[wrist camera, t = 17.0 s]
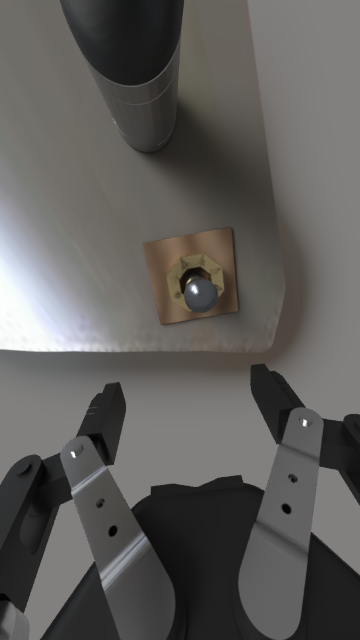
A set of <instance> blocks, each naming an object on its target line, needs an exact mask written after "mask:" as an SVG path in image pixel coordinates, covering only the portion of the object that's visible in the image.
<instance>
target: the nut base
mask: <svg viewBox="0 0 360 640" xmlns="http://www.w3.org/2000/svg"><path fill="white" fill-rule="evenodd" d="M143 247H144V251H145V256H146V260H147V265H148V269H149V274H150V278H151V283H152V287H153V292H154V296H155V301H156V305H157V310H158V314H159V319H160V323H161V325H163V324H168V323H174V322H180V321H185V320H191V319H196V318H202V317H208V316H213V315H219V314H224V313H230V312H236V311H238V303H237V291H236V279H235V266H234V254H233V242H232V230H231V227H228V228H223V229H217V230H212V231H207V232H201V233H196V234H191V235H185V236H180V237H174V238H169V239H164V240H158V241H153V242H148V243H143ZM193 270H194V271H198V272H199V273H200V274H201V275H202V277H203V278H204V279H207V280H209V281H211V282H212V283H213V284H214V285H215V287H216V288H217V291H218V301H217V303H216V305H215V306H214V307H213V308H212V309H211V310H209V311H207V312H204V313H197V312H194V311H192V310H190V309H189V308H188V306H187V305H186V303H185V299H184V291H185V289H186V288H185V284H184V276H185V275H186V273H188V272H189V271H193Z"/></svg>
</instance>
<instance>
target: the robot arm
mask: <svg viewBox="0 0 360 640" xmlns="http://www.w3.org/2000/svg"><path fill="white" fill-rule="evenodd" d="M60 2H61V6H62V9H63V12H64V15H65V18H66V20H67V23H68V25H69V28H70V30H71V32H72V34H73V36H74V38H75V40H76V42H77V44H78V46H79V48H80V50H81V52H82V55H83V57H84V59H85V61H86V63H87V65H88V67H89V69H90V71H91V73H92V75H93V77H94V79H95V81H96V83H97V85H98V88H99V90H100V92H101V94H102V96H103V98H104V100H105V102H106V104H107V106H108V108H109V110H110V113H111V115H112V117H113V119H114V121H115V123H116V125H117V127H118V129H119V131H120V133H121V135H122V137H123V138H124V140H125V141H126V142H127V143H128V144H129V145H130V146H131V147H133V148H134V149H136V150H139V151H141V152H154V151H157V150H159V149H161V148H162V147H163V146H165V145H166V143H167V142H168V141H169V140H170V138H171V136H172V134H173V131H174V128H175V122H176V109H177V93H178V76H179V59H180V41H181V25H182V15H183V7H184V0H60ZM250 385H251V391H252V395H253V397H254V399H255V401H256V403H257V405H258V407H259V409H260V411H261V413H262V415H263V418H264V420H265V422H266V423H267V426H268V428H269V430H270V432H271V434H272V436H273V438H274V440H275V442H276V444H279V446H278V449H277V453H276V456H275V459H274V463H273V466H272V470H271V473H270V476H269V480H268V483H267V487H266V490H265V491H264V490H262V489H260V488H258V487H256V486H254V485H250V484H247V483H243V480H242V477H241V475H236V476H229V477H221V478H217V479H215V480H213V481H210V482H208V483H206V484H203V485H201V486H199V487H190V486H185V485H178V484H166V485H159V486H152V487H151V495H149V496H147V497H145V498H144V499H142V500H141V501H139V502H138V503H137V504H136V505H135V506H134V507H133V508H132V509H130V508H129V506H128V504H127V502H126V500H125V499H124V497H123V495H122V493H121V491H120V490H119V488H118V486H117V484H116V482H115V481H114V479H113V477H112V475H111V473H110V471H109V470H108V468H107V466H108V465H114V461H115V457H116V452H117V448H118V444H119V439H120V435H121V430H122V425H123V421H124V417H125V413H126V402H125V399H124V395H123V392H122V388H121V385H120V383H119V382H116V383H109V384H106V385H105V388H104V390H103V393H99V394H97V395H96V396H95V398H94V399H93V400H92V401H91V403H90V406H89V409H88V410H87V413H86V415H85V417H84V420H83V422H82V424H81V426H80V429H79V431H78V434H77V436H76V438H74V439H72V440H70V441H69V442H68V443H67V444H66V445H65V446H64V447H63V449H62V451H61V453H58V454H56V455H54V456H51V457H49V458H46V459H44V460H42V459H41V458H40V456H38V455H29V456H27V457H24V458H22V459H21V460H19V461H18V462H17V463H15V464H14V465H13V466H12V468H11V469H10V470H9V471H8V473H7V475H6V476H5V478H4V480H3V481H2V483H1V485H0V640H28V637H29V622H28V619H27V617H26V616H25V615H24V611H25V608H26V605H27V602H28V599H29V596H30V592H31V590H32V587H33V584H34V580H35V578H36V575H37V572H38V569H39V566H40V563H41V560H42V557H43V554H44V551H45V548H46V545H47V542H48V539H49V536H50V533H51V530H52V527H53V524H54V520H55V518H56V515H57V512H58V509H59V506H60V505H61V504H63V503H65V502H67V501H69V500H71V499H73V500H74V503H75V506H76V508H77V511H78V514H79V517H80V520H81V523H82V525H83V529H84V532H85V534H86V537H87V540H88V543H89V545H90V548H91V551H92V554H93V557H94V560H95V561H94V562H93V564H92V565H91V567H90V568H89V570H88V571H87V573H86V574H85V575H84V577H83V578H82V580H81V581H80V583H79V584H78V585H77V587H76V588H75V590H74V591H73V593H72V594H71V596H70V597H69V598H68V600H67V601H66V603H65V604H64V606H63V607H62V609H61V610H60V612H59V613H58V614H57V616H56V617H55V619H54V620H53V622H52V623H51V625H50V626H49V628H48V629H47V630H46V632H45V633H44V635H43V636H42V638H41V639H40V640H360V575H359V574H358V573H357V572H355V571H354V570H353V569H352V568H351V567H350V566H349V565H348V564H347V563H346V562H344V561H343V560H342V559H341V558H340V557H339V556H338V555H337V554H335V553H334V552H333V551H332V550H331V549H330V548H329V547H328V546H327V545H325V544H324V543H323V542H322V541H321V540H320V539H319V538H318V537H317V536H316V535H314V534H313V533H312V532H311V526H312V518H313V510H314V502H315V494H316V486H317V478H318V470H319V466H320V467H325V468H330V469H336V470H338V471H339V473H340V474H341V476H342V478H343V479H344V481H345V483H346V484H347V486H348V487H349V489H350V491H351V492H352V494H353V495H354V497H355V499H356V500H357V502H358V503H359V505H360V415H359V414H349V415H347V416H345V417H344V420H343V422H342V421H335V420H327V419H323V418H321V416H320V415H319V414H317V413H316V412H315V411H313V410H310V409H308V408H306V407H305V406H304V404H303V403H302V402H301V400H300V399H299V398H298V396H297V395H296V394H295V392H294V391H293V390H292V389H291V387H290V386H289V384H288V383H287V382H286V380H285V379H284V378H283V376H282V375H280V374H279V373H277V372H276V371H269V370H268V368H267V367H266V365H265V364H258V365H257V364H256V365H251V383H250Z"/></svg>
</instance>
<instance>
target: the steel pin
mask: <svg viewBox="0 0 360 640" xmlns="http://www.w3.org/2000/svg"><path fill="white" fill-rule="evenodd" d="M184 284H185V288H186V289H185V291H184V299H185V303H186V305H187V306H188V308H189V309H190V310H192V311H194V312H197V313H204V312H207V311H209V310H211V309H212V308H213V307H214V306H215V305H216V303H217V301H218V291H217V288H216V287H215V285H214V284H213V283H212V282H211V281H209V280H207V279H204V278H203V277H202V275H201V274H200V273H199V272H198V271H194V270H193V271H189V272H188V273H186V275H185V276H184Z"/></svg>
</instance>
